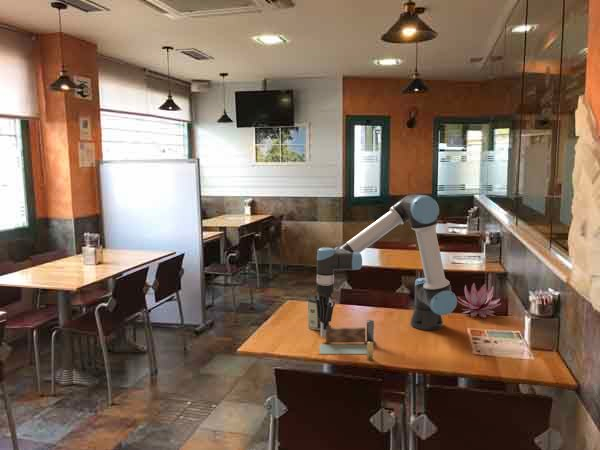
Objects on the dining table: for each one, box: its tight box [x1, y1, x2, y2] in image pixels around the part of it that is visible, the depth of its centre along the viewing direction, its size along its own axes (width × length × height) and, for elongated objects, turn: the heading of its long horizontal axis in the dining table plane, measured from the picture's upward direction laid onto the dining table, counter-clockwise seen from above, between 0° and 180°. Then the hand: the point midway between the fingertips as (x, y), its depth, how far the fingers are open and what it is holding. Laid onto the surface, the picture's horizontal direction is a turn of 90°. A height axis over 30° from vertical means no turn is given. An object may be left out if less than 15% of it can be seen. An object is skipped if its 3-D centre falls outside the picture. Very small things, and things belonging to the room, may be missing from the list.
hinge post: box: [363, 319, 377, 346], centre depth 204 cm, size 5×5×10 cm
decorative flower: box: [457, 282, 501, 319], centre depth 242 cm, size 21×21×15 cm
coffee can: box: [307, 294, 330, 331], centre depth 227 cm, size 10×10×14 cm
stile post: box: [366, 341, 374, 362], centre depth 188 cm, size 2×2×7 cm
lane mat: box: [318, 343, 367, 355], centre depth 198 cm, size 20×10×1 cm, turn 88°
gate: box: [325, 324, 366, 344], centre depth 204 cm, size 17×2×7 cm, turn 91°
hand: (323, 335), depth 208 cm, fingers closed
